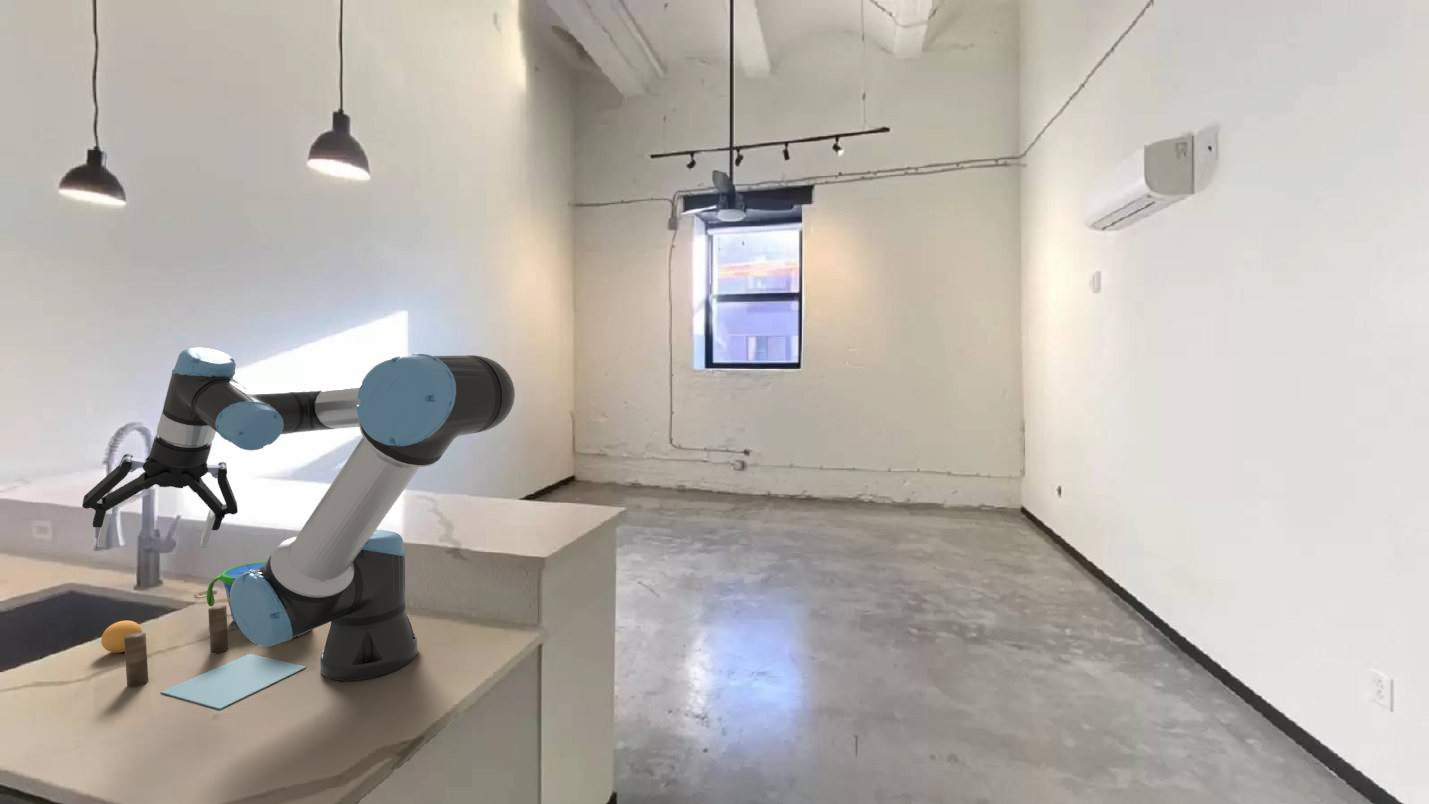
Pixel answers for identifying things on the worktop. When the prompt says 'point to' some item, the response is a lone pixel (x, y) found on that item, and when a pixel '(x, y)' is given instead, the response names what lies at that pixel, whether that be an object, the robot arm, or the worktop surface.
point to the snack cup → (231, 580)
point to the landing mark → (233, 681)
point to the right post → (218, 629)
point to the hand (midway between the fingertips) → (153, 542)
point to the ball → (118, 635)
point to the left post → (136, 659)
